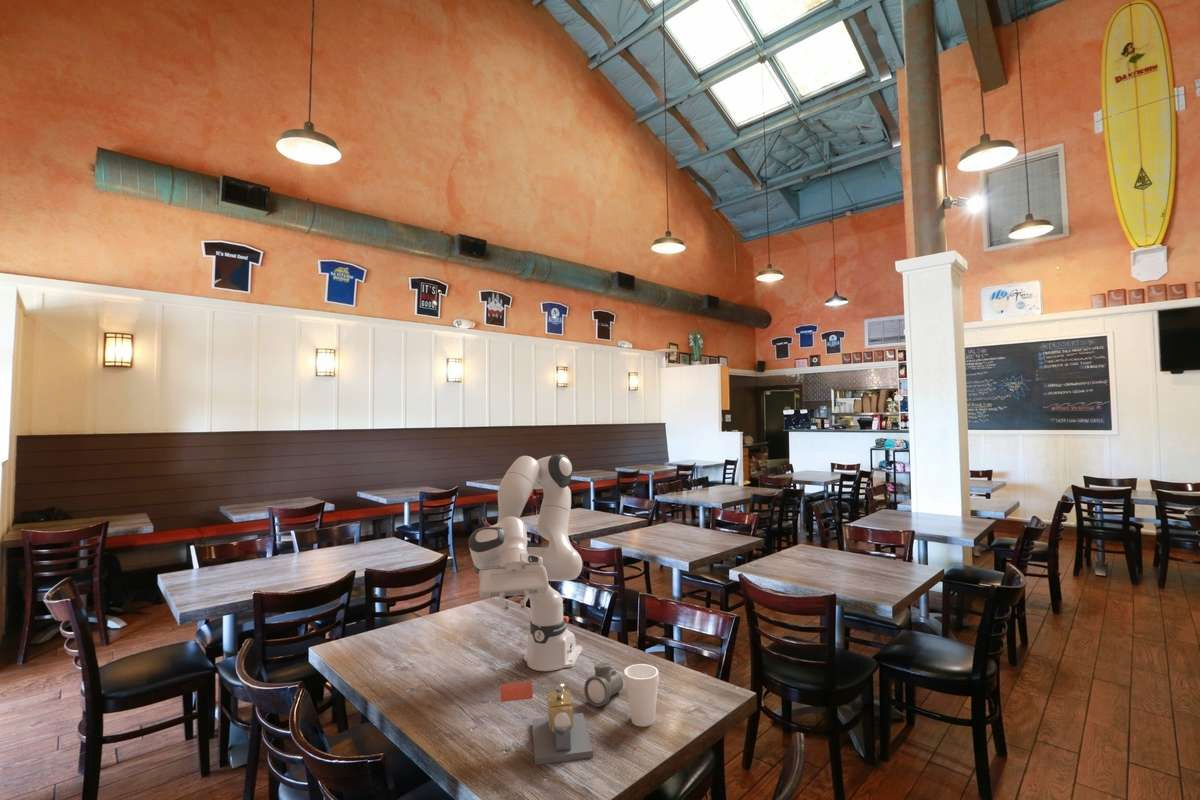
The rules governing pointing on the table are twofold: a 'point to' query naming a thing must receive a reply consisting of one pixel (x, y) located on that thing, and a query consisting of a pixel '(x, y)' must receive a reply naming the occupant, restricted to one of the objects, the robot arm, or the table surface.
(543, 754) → the slate plate
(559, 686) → the valve lever
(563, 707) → the pipe and valve
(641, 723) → the foam cup
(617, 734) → the table surface
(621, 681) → the pipe fitting
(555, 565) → the robot arm
